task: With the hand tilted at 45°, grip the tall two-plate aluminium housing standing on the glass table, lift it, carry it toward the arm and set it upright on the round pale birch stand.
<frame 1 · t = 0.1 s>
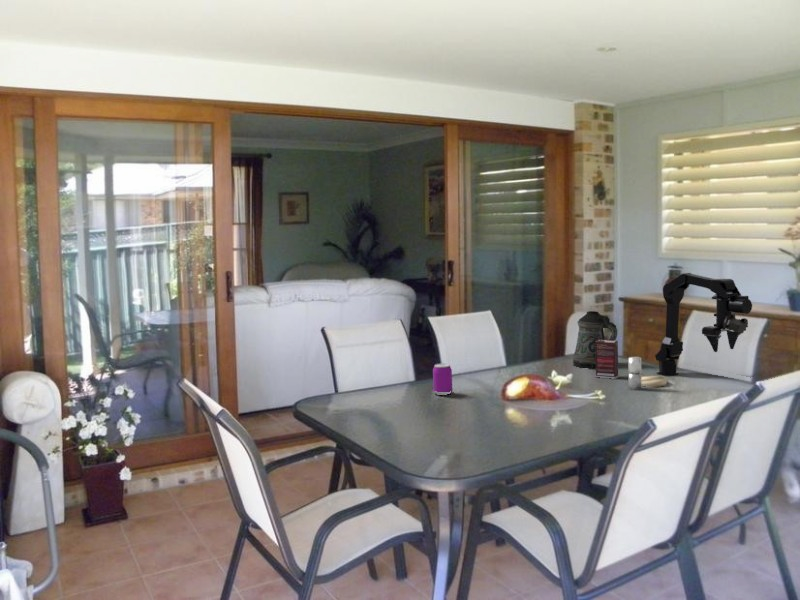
hand: (723, 350, 287), 15 cm above the table, tool pointing down, fingers open, 9 cm apart
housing: (634, 388, 292), on the table
beverage can: (443, 394, 297), on the table
birch stand: (651, 383, 299), on the table
beer stein: (594, 365, 337), on the table
supplement box: (606, 377, 313), on the table
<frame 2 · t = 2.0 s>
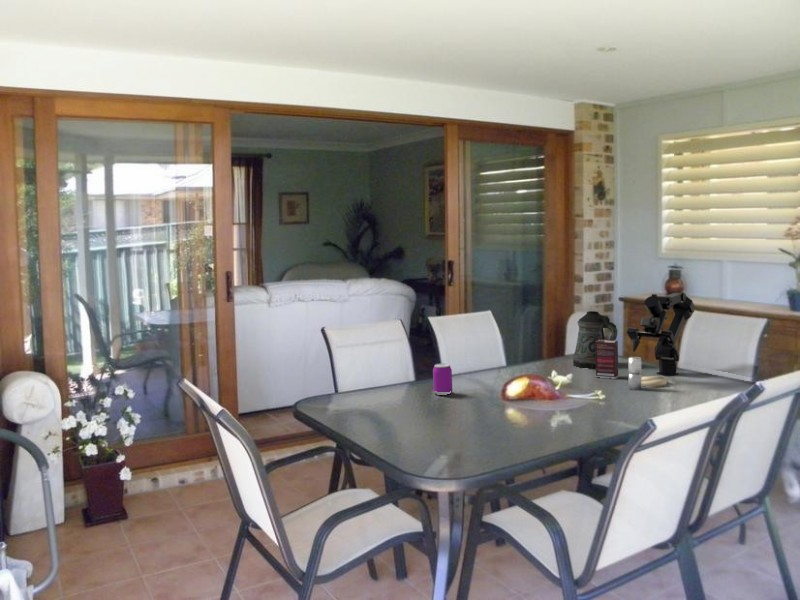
hand: (644, 352, 296), 13 cm above the table, tool tilted 45°, fingers open, 9 cm apart
nothing on the table moved.
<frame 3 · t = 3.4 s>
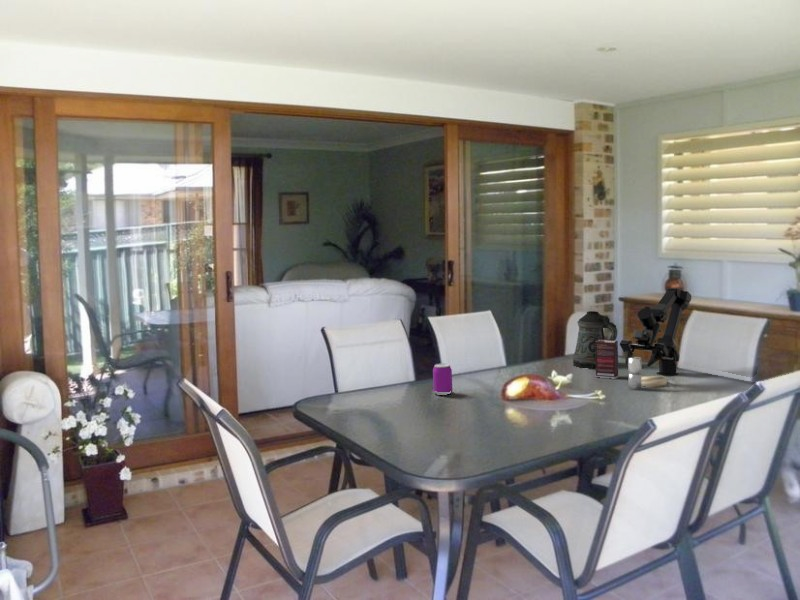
hand: (636, 365, 292), 9 cm above the table, tool tilted 45°, fingers open, 9 cm apart
nothing on the table moved.
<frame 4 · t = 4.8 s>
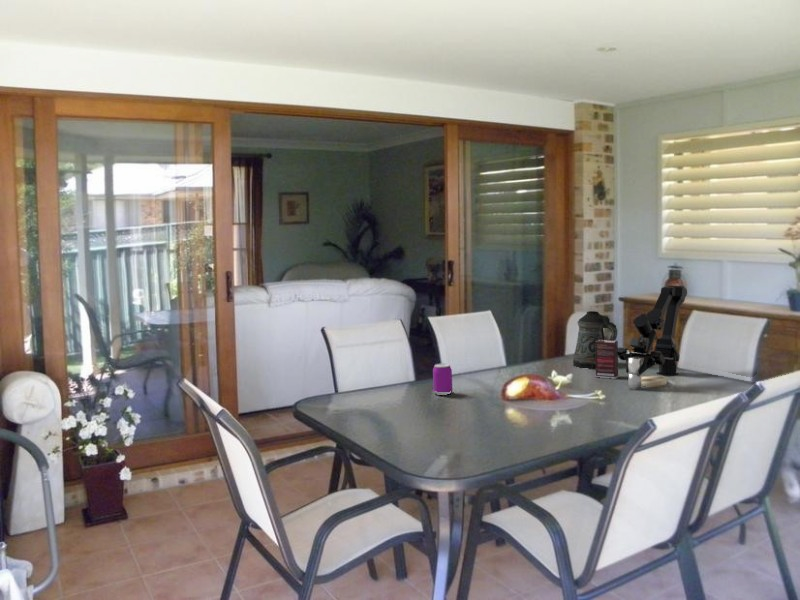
hand: (633, 373, 290), 7 cm above the table, tool tilted 45°, fingers closed on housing, 5 cm apart
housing: (634, 388, 292), on the table, touching gripper
everything else where it was.
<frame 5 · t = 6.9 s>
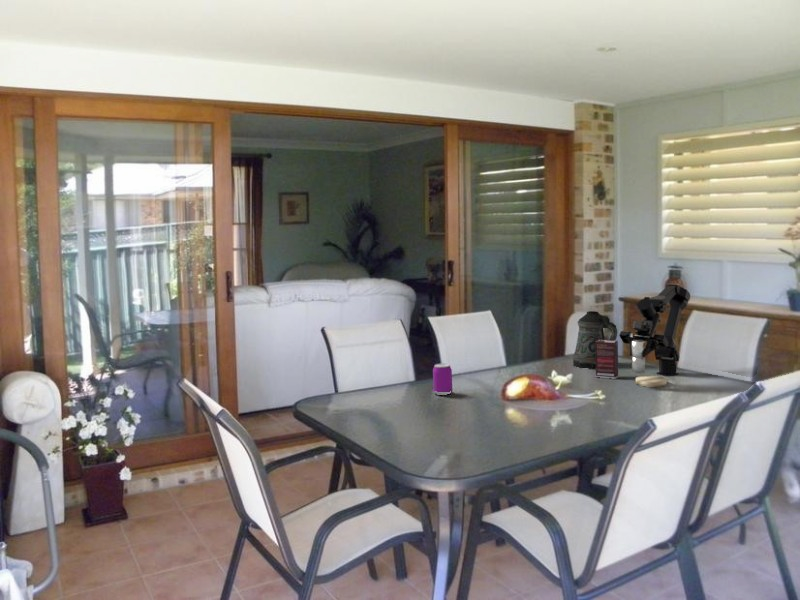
hand: (636, 356, 291), 13 cm above the table, tool tilted 45°, fingers closed on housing, 5 cm apart
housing: (638, 371, 293), point 6 cm above the table, touching gripper
everything else where it was.
when the fingers open (10 cm above the table, at t = 9.2 s): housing drops 1 cm, resting on birch stand.
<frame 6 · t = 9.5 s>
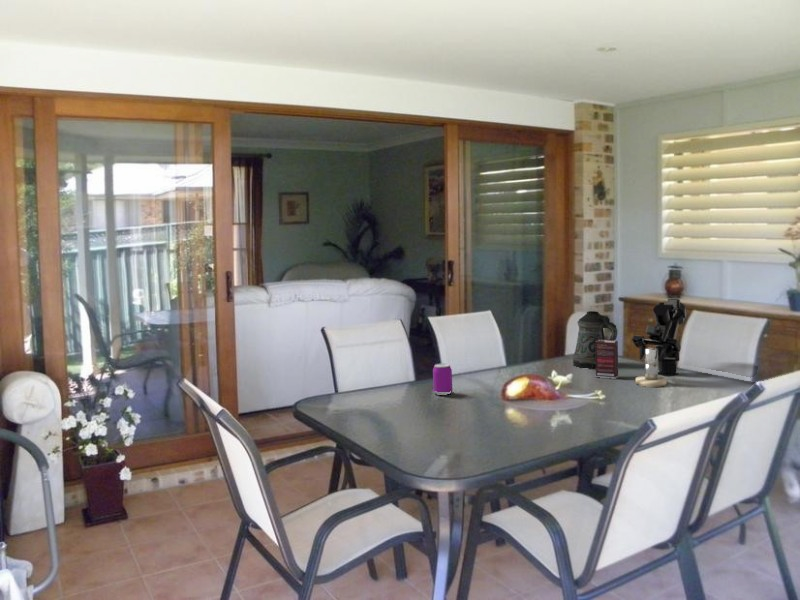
hand: (649, 360, 297), 10 cm above the table, tool tilted 45°, fingers open, 8 cm apart
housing: (651, 378, 299), point 2 cm above the table, touching birch stand
everything else where it was.
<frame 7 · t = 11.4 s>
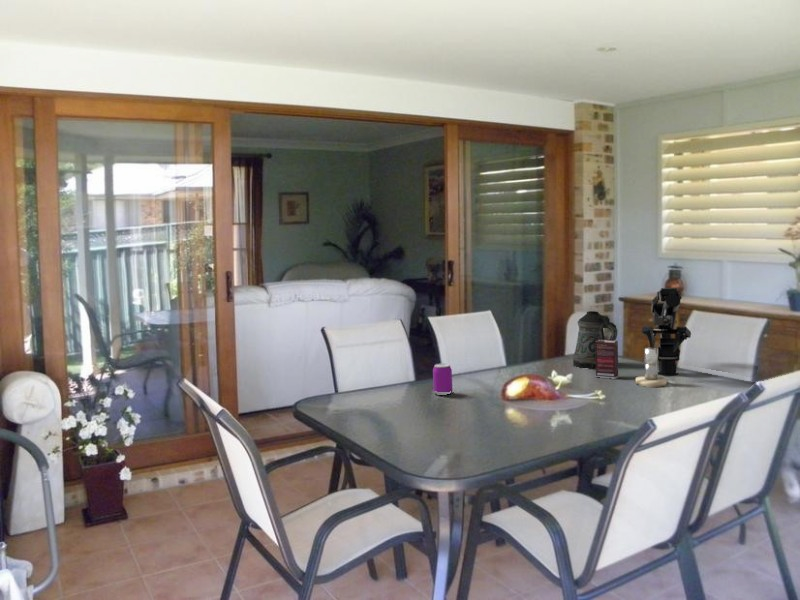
hand: (662, 351, 298), 13 cm above the table, tool tilted 30°, fingers open, 9 cm apart
nothing on the table moved.
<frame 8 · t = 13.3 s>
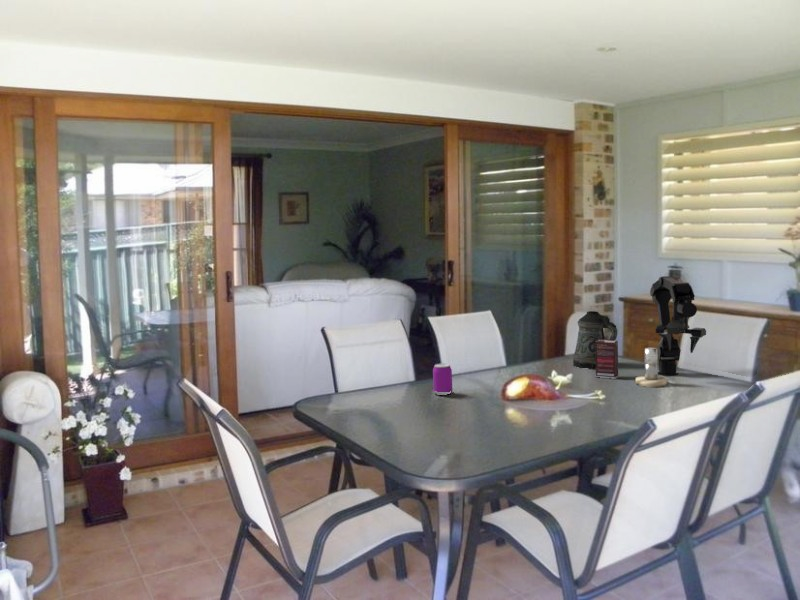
hand: (680, 351, 297), 13 cm above the table, tool pointing down, fingers open, 9 cm apart
nothing on the table moved.
at the end: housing 0.1 cm off-centre on the birch stand, point 2.0 cm above the birch stand's base; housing tilted 0°; the gripper is holding nothing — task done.
